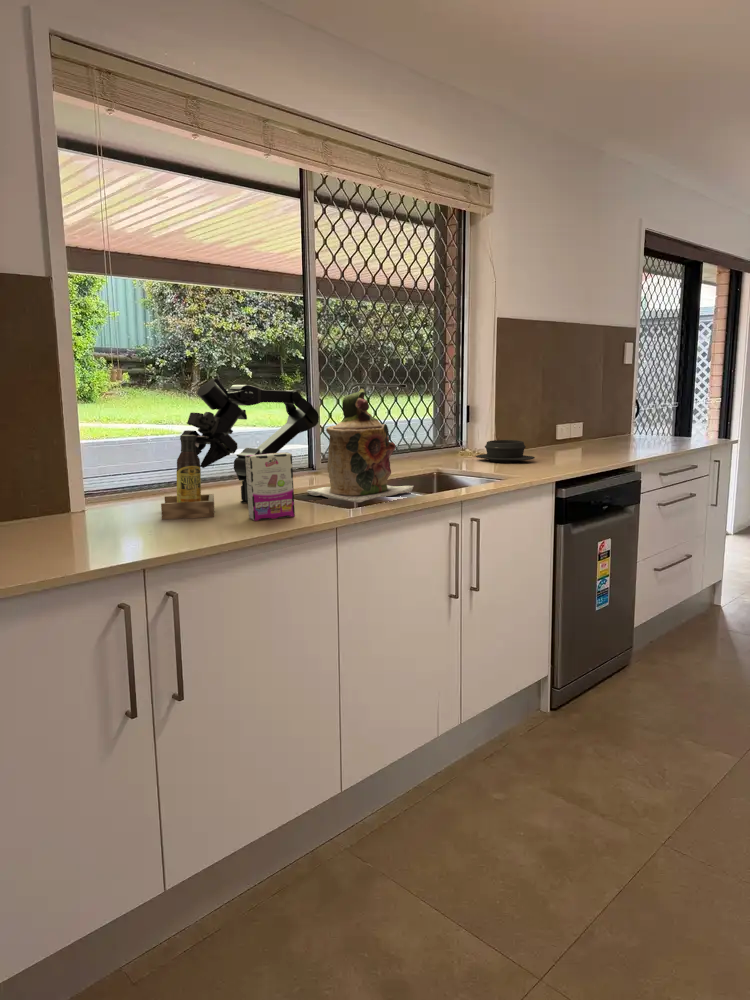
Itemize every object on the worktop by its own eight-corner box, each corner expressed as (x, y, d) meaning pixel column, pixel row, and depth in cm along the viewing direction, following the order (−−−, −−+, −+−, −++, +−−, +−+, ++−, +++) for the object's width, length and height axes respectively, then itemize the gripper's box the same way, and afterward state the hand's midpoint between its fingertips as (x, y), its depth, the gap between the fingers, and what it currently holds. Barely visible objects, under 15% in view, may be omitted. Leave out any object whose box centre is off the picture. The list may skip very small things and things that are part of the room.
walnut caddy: (214, 508, 195) (213, 493, 195) (214, 516, 183) (213, 501, 182) (165, 510, 193) (164, 496, 192) (162, 519, 180) (161, 504, 180)
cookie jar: (303, 495, 215) (299, 389, 210) (357, 485, 233) (355, 388, 228) (363, 504, 199) (361, 389, 194) (416, 492, 217) (416, 387, 212)
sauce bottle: (180, 512, 183) (176, 436, 180) (174, 508, 189) (170, 434, 185) (205, 510, 187) (201, 435, 183) (198, 506, 192) (195, 433, 189)
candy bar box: (288, 513, 186) (286, 451, 183) (295, 517, 181) (293, 453, 178) (247, 518, 180) (244, 454, 178) (253, 521, 176) (250, 456, 173)
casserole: (467, 462, 294) (467, 442, 292) (487, 457, 309) (487, 438, 307) (523, 465, 280) (524, 444, 278) (541, 460, 295) (542, 440, 293)
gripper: (184, 400, 194) (151, 444, 188) (225, 401, 182) (192, 448, 176) (210, 427, 201) (179, 470, 195) (251, 429, 189) (220, 475, 183)
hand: (191, 465), depth 187 cm, fingers open, 9 cm apart
